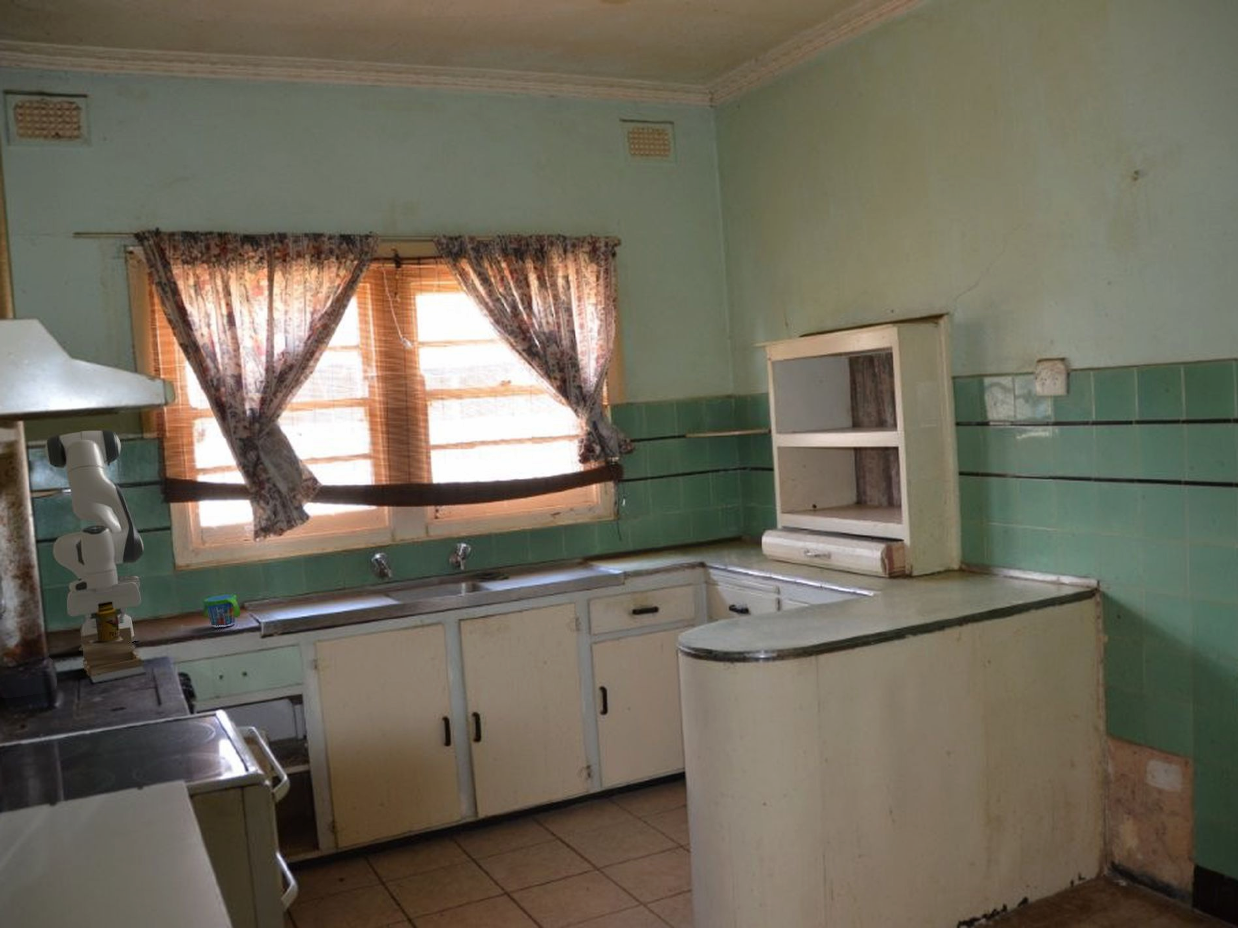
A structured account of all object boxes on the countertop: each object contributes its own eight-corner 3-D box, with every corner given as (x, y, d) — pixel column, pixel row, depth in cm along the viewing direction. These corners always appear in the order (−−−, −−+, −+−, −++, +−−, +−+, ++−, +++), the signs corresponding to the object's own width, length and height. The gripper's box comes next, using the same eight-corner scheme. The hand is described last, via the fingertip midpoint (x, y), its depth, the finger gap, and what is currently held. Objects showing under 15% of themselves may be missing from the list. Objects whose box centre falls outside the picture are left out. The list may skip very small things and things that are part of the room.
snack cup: (196, 628, 383) (193, 599, 382) (223, 621, 392) (219, 593, 391) (224, 631, 374) (220, 601, 373) (250, 624, 383) (247, 595, 382)
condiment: (123, 640, 332) (118, 600, 331) (92, 646, 327) (87, 606, 326) (119, 636, 338) (114, 597, 337) (89, 642, 333) (84, 602, 332)
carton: (83, 668, 336) (79, 635, 335) (135, 658, 343) (131, 626, 343) (88, 677, 323) (84, 643, 322) (142, 666, 330) (138, 634, 329)
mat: (90, 678, 321) (90, 676, 321) (142, 668, 328) (141, 666, 328) (93, 684, 314) (93, 681, 314) (146, 673, 321) (146, 671, 321)
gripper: (137, 573, 339) (143, 617, 340) (63, 584, 329) (69, 630, 330) (140, 575, 334) (145, 620, 335) (65, 587, 323) (71, 633, 325)
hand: (107, 625), depth 332 cm, fingers closed on condiment, 6 cm apart
